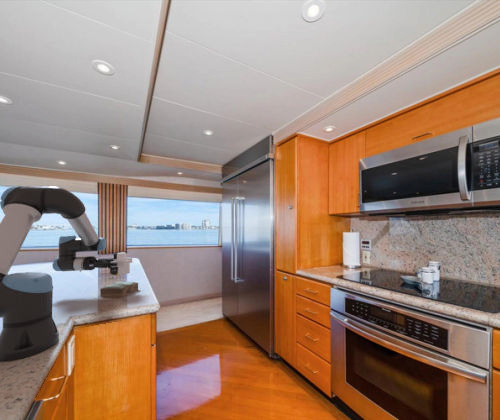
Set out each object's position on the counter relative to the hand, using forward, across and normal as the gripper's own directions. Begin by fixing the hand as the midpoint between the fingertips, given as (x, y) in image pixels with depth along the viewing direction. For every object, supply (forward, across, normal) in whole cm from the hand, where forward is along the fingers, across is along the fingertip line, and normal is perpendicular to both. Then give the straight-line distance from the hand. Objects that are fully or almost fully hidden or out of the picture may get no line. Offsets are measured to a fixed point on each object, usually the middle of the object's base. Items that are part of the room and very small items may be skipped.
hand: (128, 261), depth 132 cm
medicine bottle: (-4, 0, -7) cm, 8 cm away
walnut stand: (-4, 0, -17) cm, 17 cm away
